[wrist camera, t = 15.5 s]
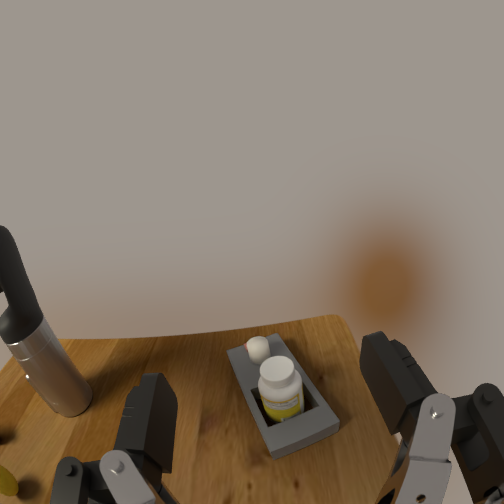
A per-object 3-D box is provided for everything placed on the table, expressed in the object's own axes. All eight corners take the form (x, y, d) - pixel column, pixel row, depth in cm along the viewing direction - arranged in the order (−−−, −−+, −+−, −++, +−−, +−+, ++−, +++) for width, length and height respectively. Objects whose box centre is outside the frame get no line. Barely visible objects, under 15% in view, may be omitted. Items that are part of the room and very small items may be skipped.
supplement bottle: (277, 391, 36) (268, 346, 32) (310, 401, 33) (308, 357, 29) (258, 418, 32) (244, 376, 28) (293, 431, 29) (287, 391, 25)
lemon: (13, 474, 17) (-18, 448, 14) (30, 486, 16) (-5, 461, 13) (5, 494, 12) (-28, 470, 9) (22, 508, 11) (-15, 485, 8)
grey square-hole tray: (273, 460, 26) (267, 442, 23) (230, 362, 43) (222, 337, 41) (338, 431, 28) (341, 409, 25) (279, 345, 45) (274, 319, 43)
